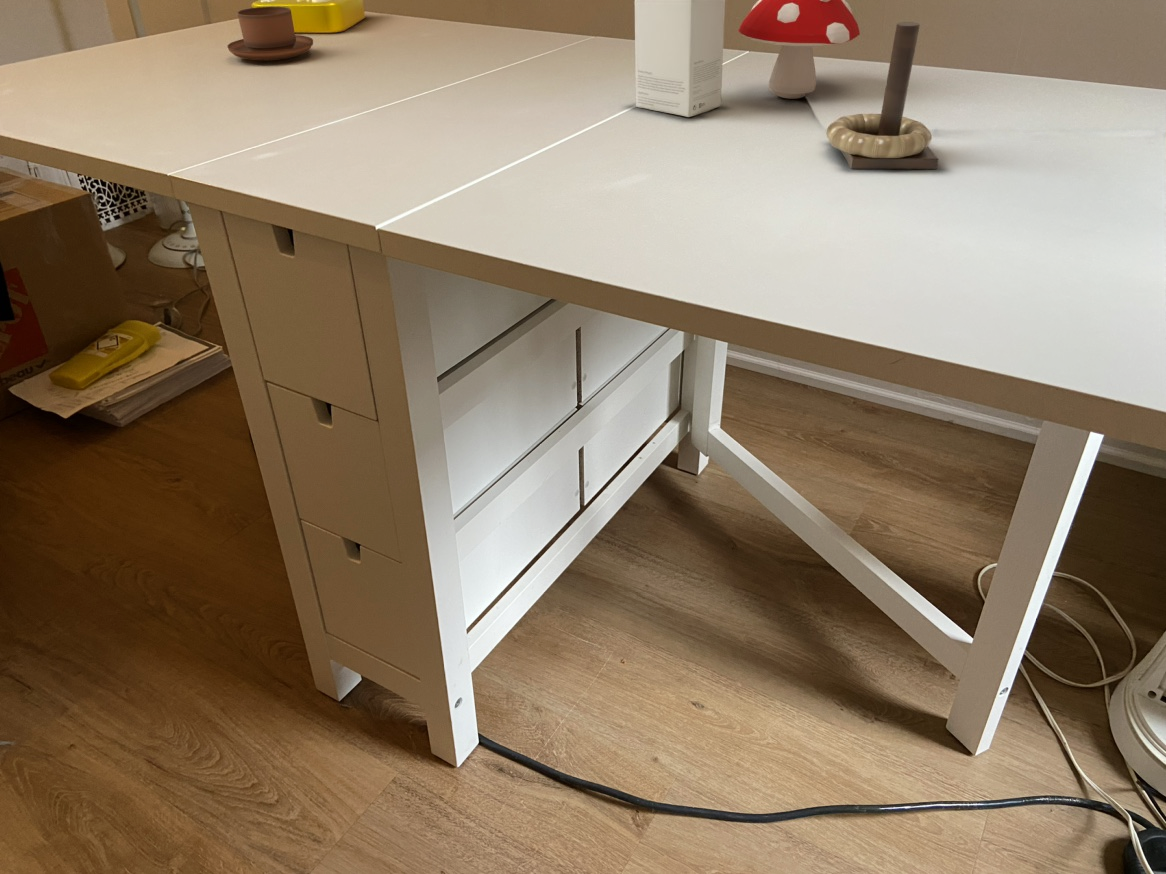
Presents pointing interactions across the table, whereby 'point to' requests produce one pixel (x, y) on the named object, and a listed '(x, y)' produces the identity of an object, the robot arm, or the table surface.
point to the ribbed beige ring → (877, 137)
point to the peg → (897, 105)
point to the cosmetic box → (679, 55)
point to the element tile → (320, 14)
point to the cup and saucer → (268, 35)
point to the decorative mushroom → (798, 37)
